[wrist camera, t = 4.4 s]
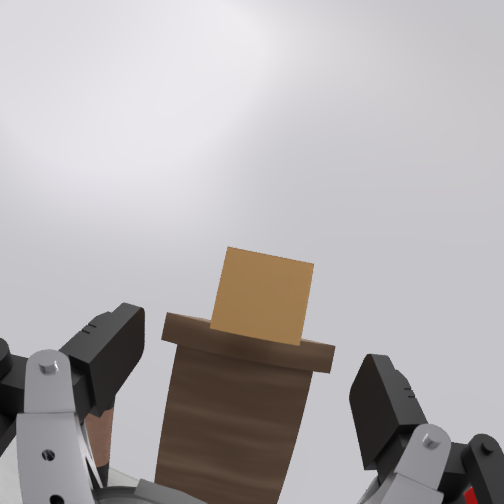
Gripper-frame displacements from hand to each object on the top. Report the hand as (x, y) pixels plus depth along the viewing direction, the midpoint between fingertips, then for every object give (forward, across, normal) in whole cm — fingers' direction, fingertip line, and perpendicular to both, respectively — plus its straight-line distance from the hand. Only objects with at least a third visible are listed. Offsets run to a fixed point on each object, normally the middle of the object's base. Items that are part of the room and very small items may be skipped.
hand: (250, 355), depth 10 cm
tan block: (+12, 0, +6) cm, 13 cm away
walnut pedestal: (0, 0, +36) cm, 36 cm away
